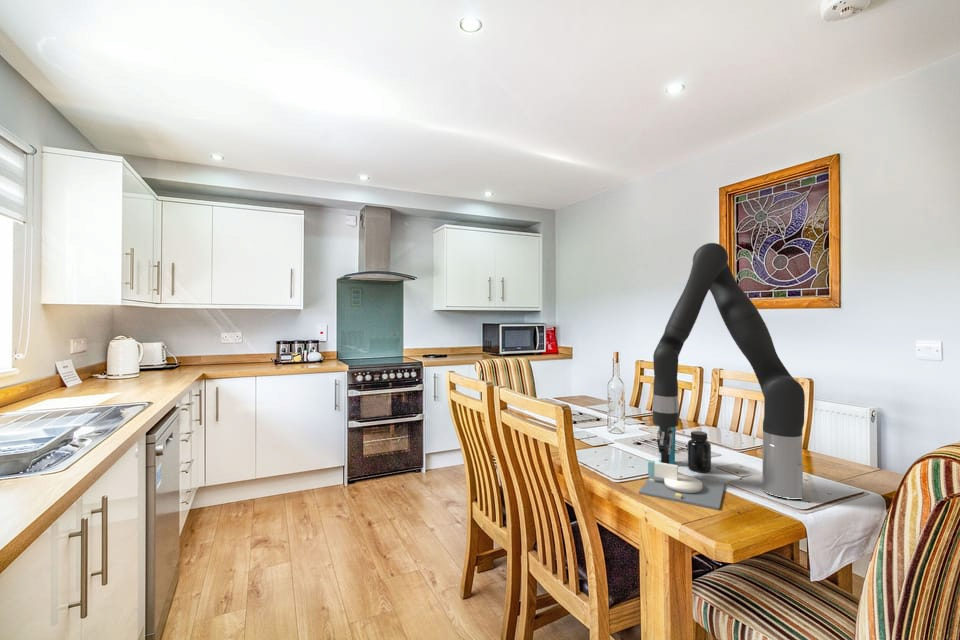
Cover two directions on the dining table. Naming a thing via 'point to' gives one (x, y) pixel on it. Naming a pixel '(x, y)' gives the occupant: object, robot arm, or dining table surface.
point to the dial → (674, 477)
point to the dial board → (704, 498)
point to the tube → (672, 453)
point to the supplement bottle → (699, 452)
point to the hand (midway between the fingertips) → (665, 465)
